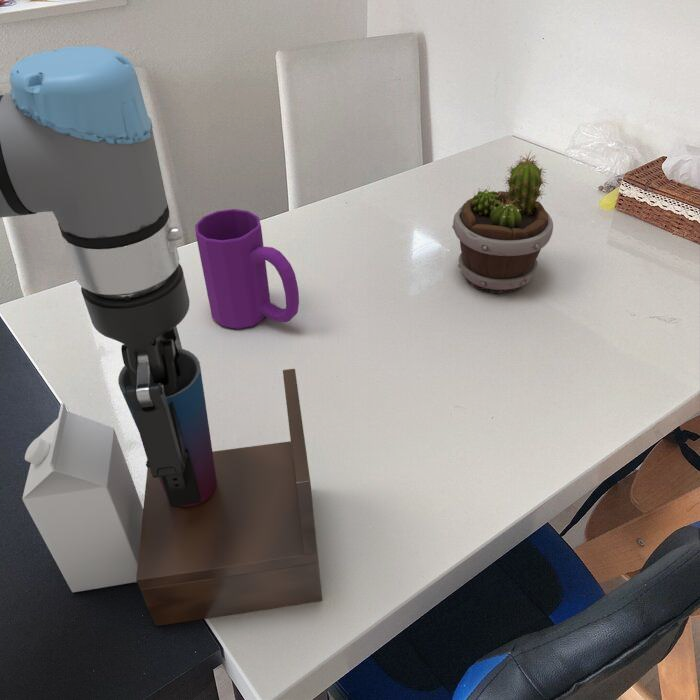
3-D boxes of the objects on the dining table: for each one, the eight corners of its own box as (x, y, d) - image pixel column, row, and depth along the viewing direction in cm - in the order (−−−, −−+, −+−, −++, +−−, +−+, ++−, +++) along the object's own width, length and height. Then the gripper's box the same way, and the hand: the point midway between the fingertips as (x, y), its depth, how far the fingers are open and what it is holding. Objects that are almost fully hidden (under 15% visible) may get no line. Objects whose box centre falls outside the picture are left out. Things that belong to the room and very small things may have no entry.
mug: (237, 288, 108) (223, 202, 98) (318, 317, 101) (312, 228, 92) (198, 319, 102) (179, 230, 92) (282, 352, 95) (271, 260, 86)
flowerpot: (483, 314, 101) (498, 190, 88) (432, 264, 111) (439, 147, 99) (563, 289, 105) (589, 167, 92) (506, 243, 116) (522, 129, 103)
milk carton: (149, 523, 73) (103, 396, 61) (145, 582, 68) (94, 455, 56) (81, 534, 73) (21, 408, 60) (72, 594, 67) (4, 468, 55)
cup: (141, 494, 66) (100, 380, 57) (191, 450, 70) (161, 337, 61) (191, 526, 63) (157, 412, 54) (240, 478, 67) (217, 364, 58)
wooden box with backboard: (155, 626, 64) (106, 509, 53) (163, 507, 75) (124, 388, 64) (322, 600, 66) (310, 481, 54) (307, 487, 77) (294, 368, 65)
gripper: (175, 345, 44) (227, 552, 59) (185, 208, 58) (225, 401, 73) (56, 359, 43) (139, 565, 58) (96, 216, 58) (154, 410, 73)
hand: (187, 473), depth 66 cm, fingers closed on cup, 6 cm apart
